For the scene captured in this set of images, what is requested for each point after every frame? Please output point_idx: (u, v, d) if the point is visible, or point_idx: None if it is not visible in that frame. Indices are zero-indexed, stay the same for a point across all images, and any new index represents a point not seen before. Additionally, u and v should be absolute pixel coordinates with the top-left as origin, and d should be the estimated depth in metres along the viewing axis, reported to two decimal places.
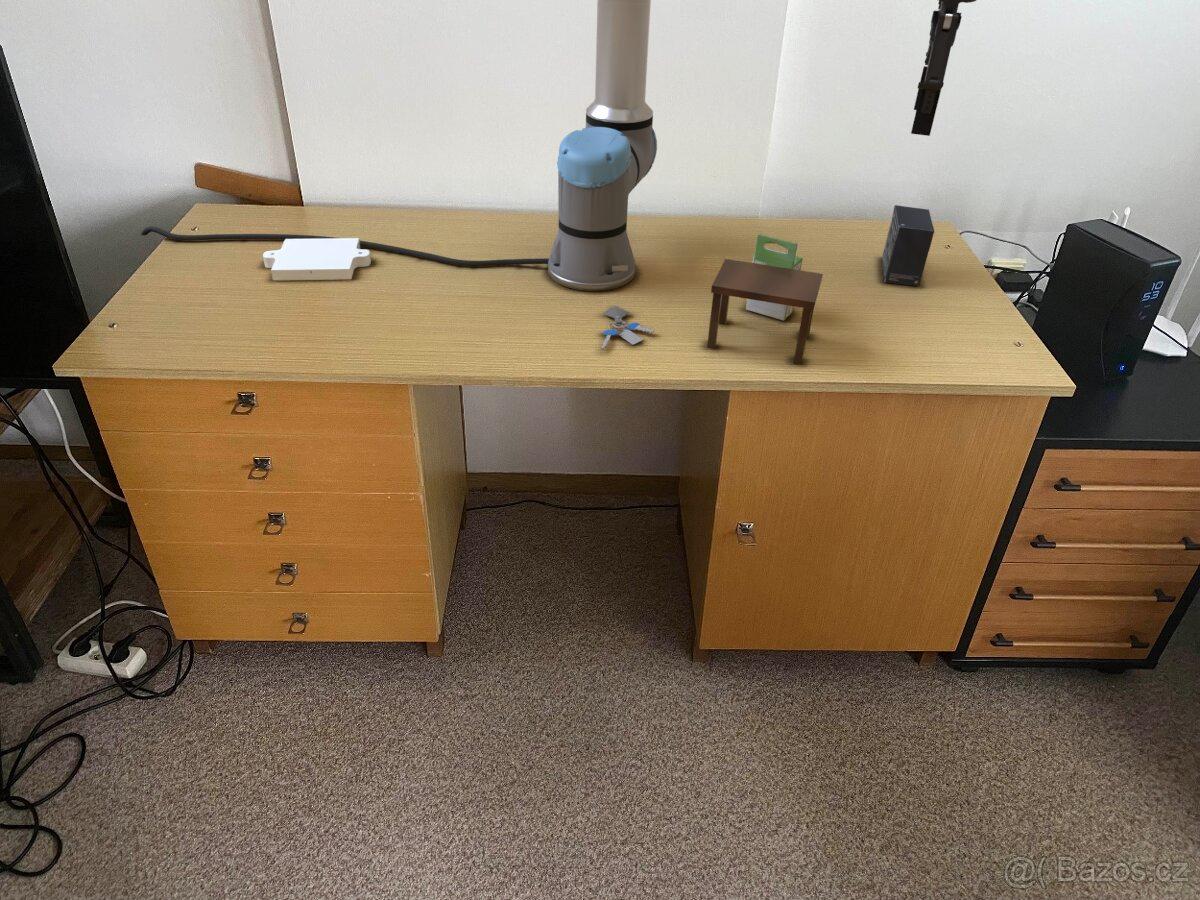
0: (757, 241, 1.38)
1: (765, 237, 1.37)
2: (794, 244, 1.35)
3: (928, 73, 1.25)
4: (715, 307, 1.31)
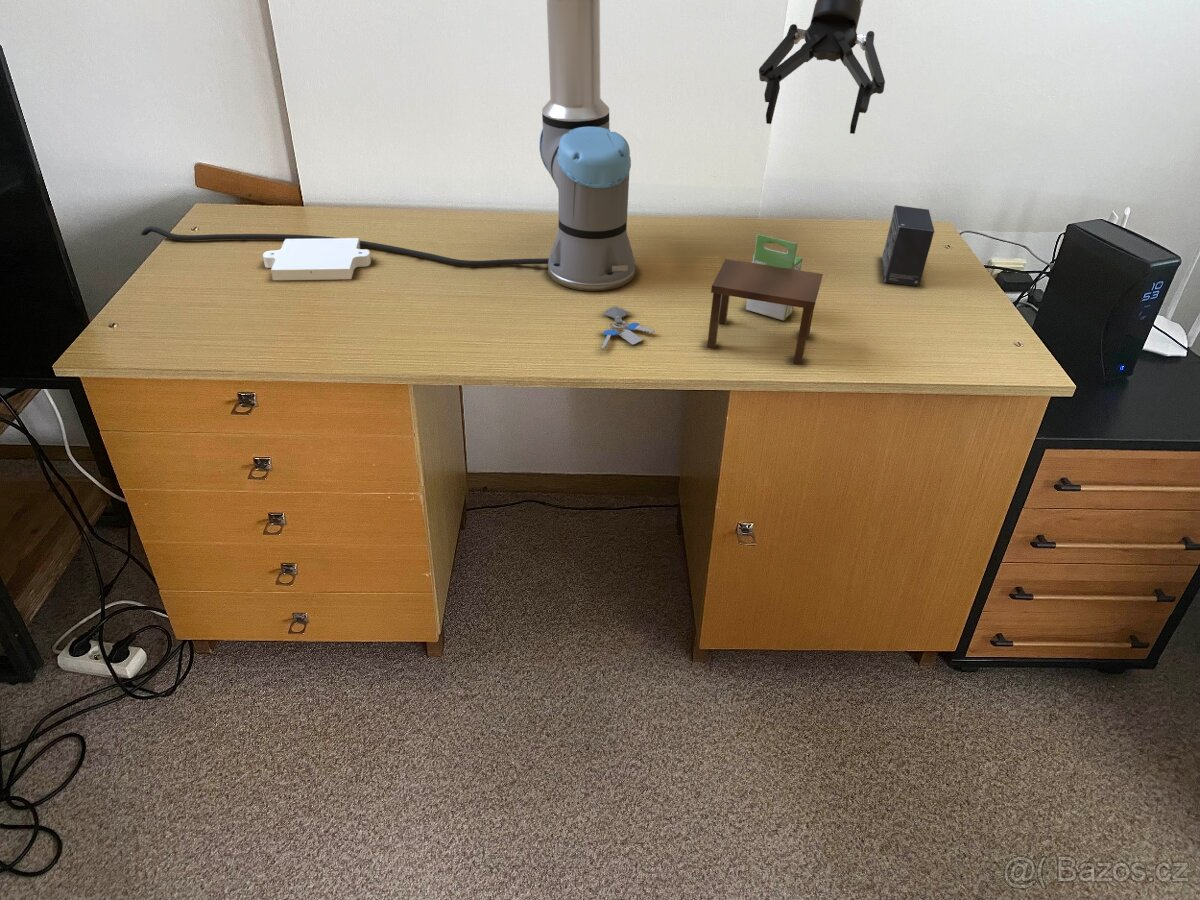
0: (757, 241, 1.38)
1: (765, 237, 1.37)
2: (794, 244, 1.35)
3: (882, 75, 1.40)
4: (715, 307, 1.31)
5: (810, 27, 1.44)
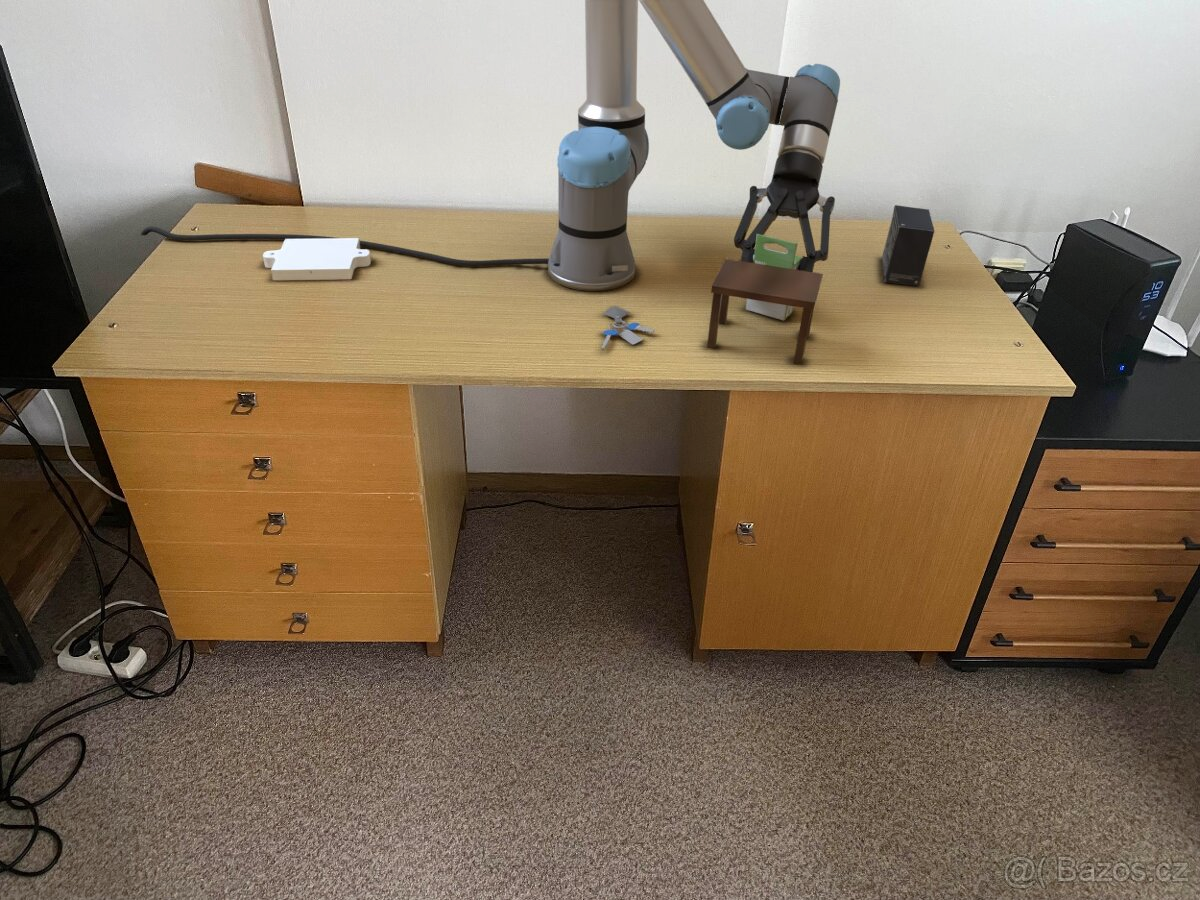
0: (757, 241, 1.38)
1: (765, 237, 1.37)
2: (794, 244, 1.35)
3: (828, 245, 1.38)
4: (715, 307, 1.31)
5: (771, 184, 1.41)
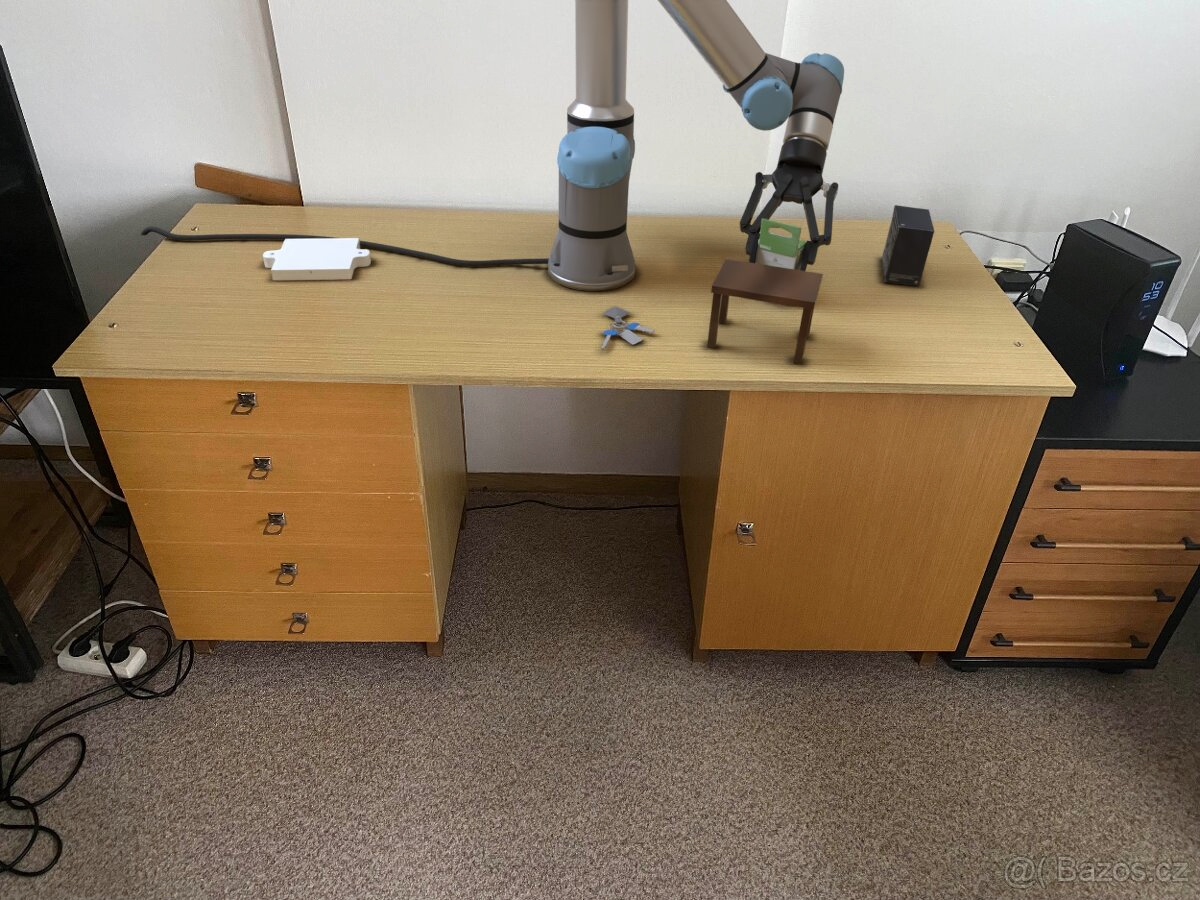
0: (762, 225, 1.41)
1: (770, 222, 1.40)
2: (798, 228, 1.39)
3: None
4: (715, 307, 1.31)
5: (777, 170, 1.45)
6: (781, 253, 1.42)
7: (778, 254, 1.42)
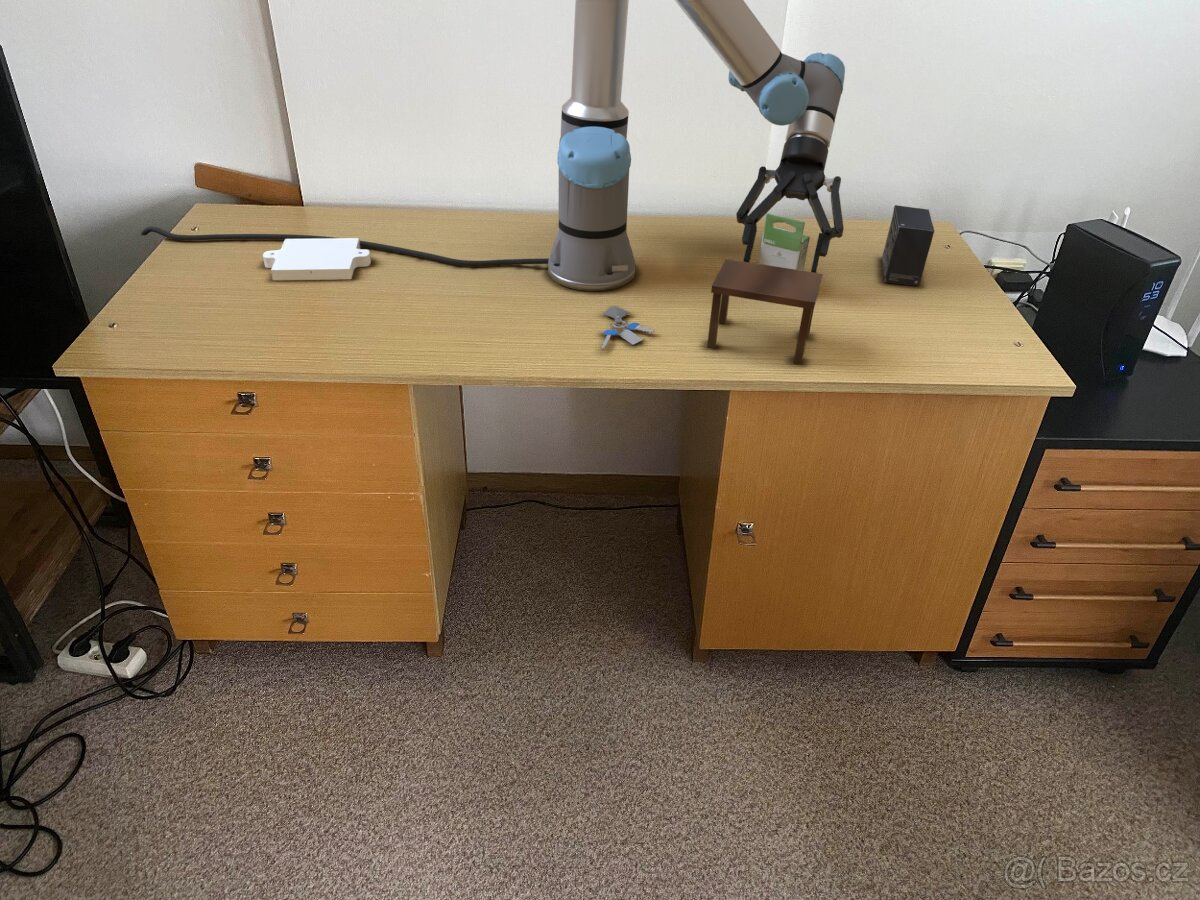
0: (766, 220, 1.45)
1: (774, 216, 1.44)
2: (802, 223, 1.42)
3: (842, 222, 1.45)
4: (715, 307, 1.31)
5: (779, 167, 1.48)
6: (785, 247, 1.45)
7: (782, 249, 1.46)
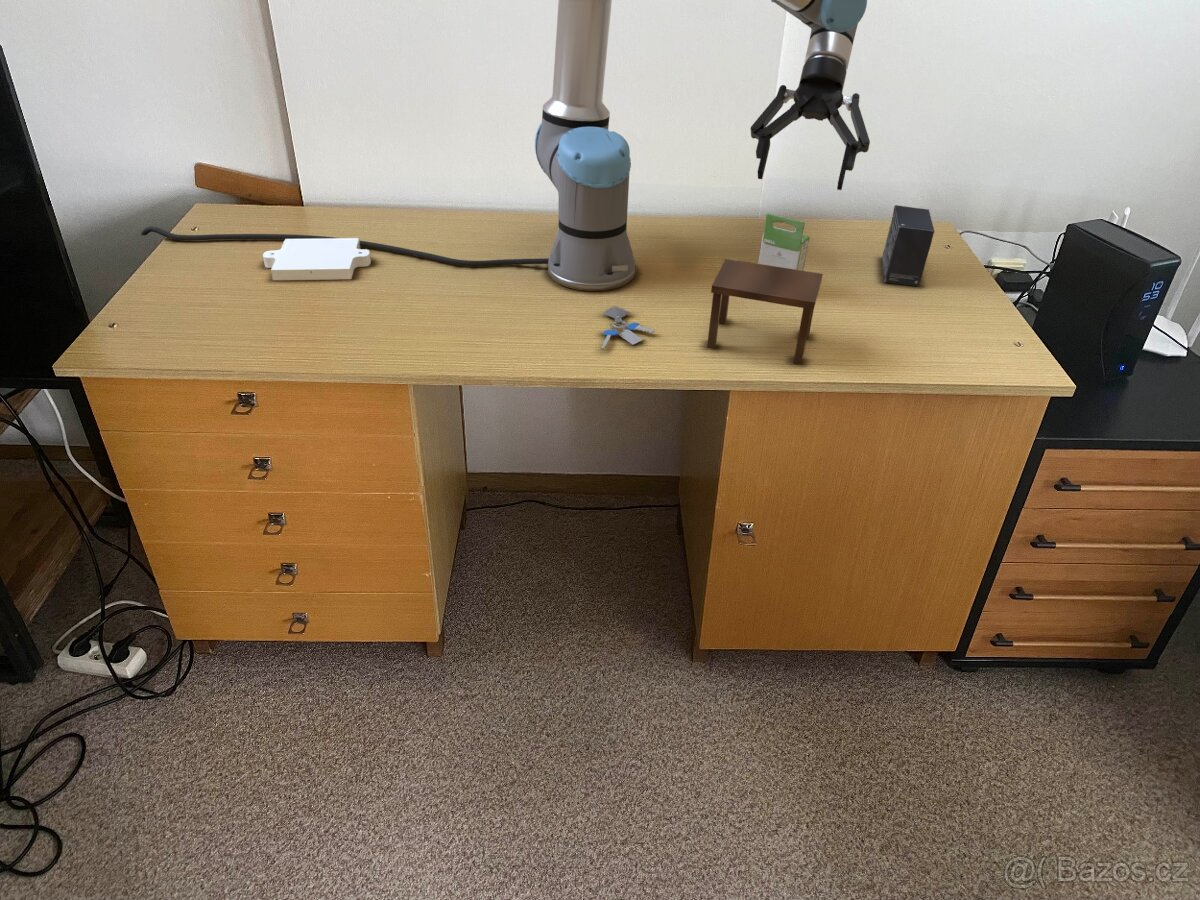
0: (766, 220, 1.45)
1: (774, 216, 1.44)
2: (802, 223, 1.42)
3: (867, 135, 1.48)
4: (715, 307, 1.31)
5: (799, 88, 1.52)
6: (785, 247, 1.45)
7: (782, 249, 1.46)
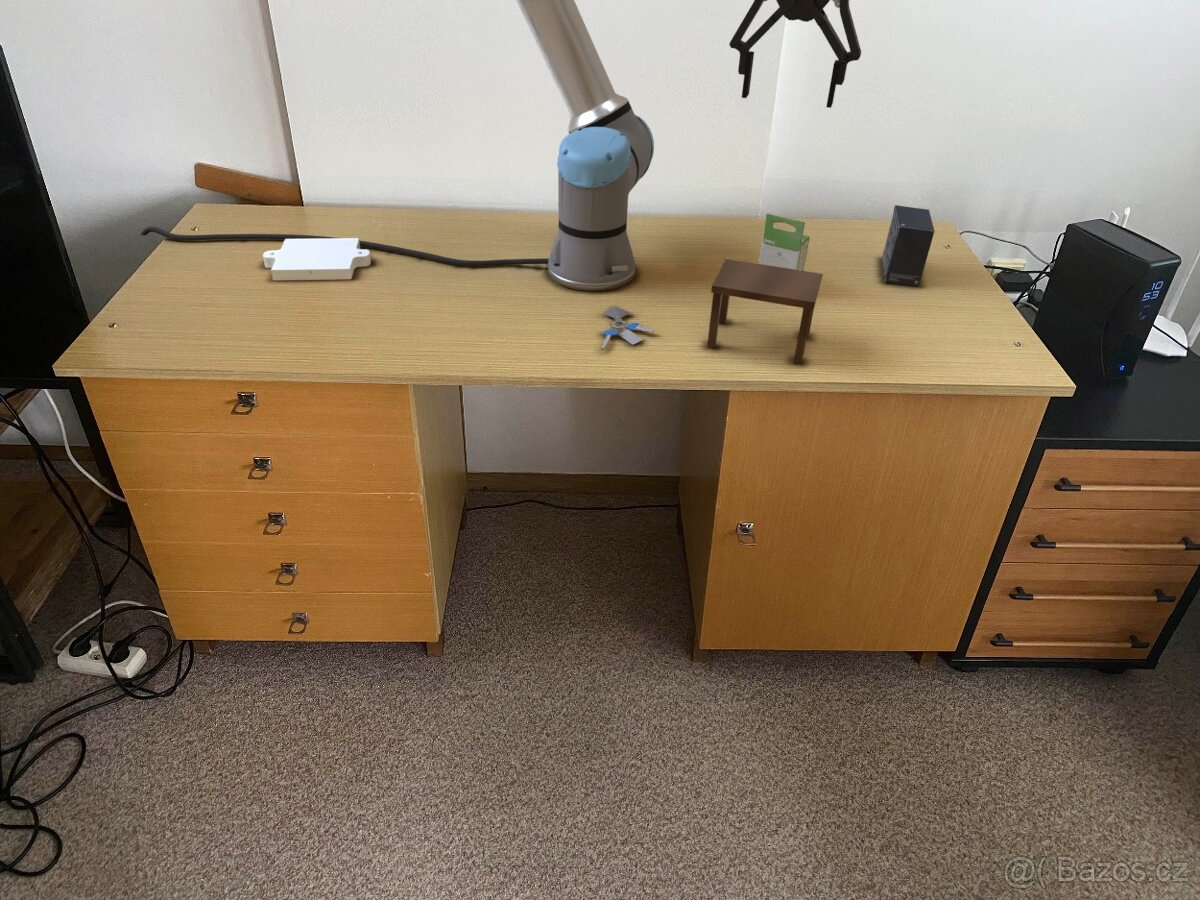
0: (766, 220, 1.45)
1: (774, 216, 1.44)
2: (802, 223, 1.42)
3: (858, 47, 1.34)
4: (715, 307, 1.31)
5: None
6: (785, 247, 1.45)
7: (782, 249, 1.46)
